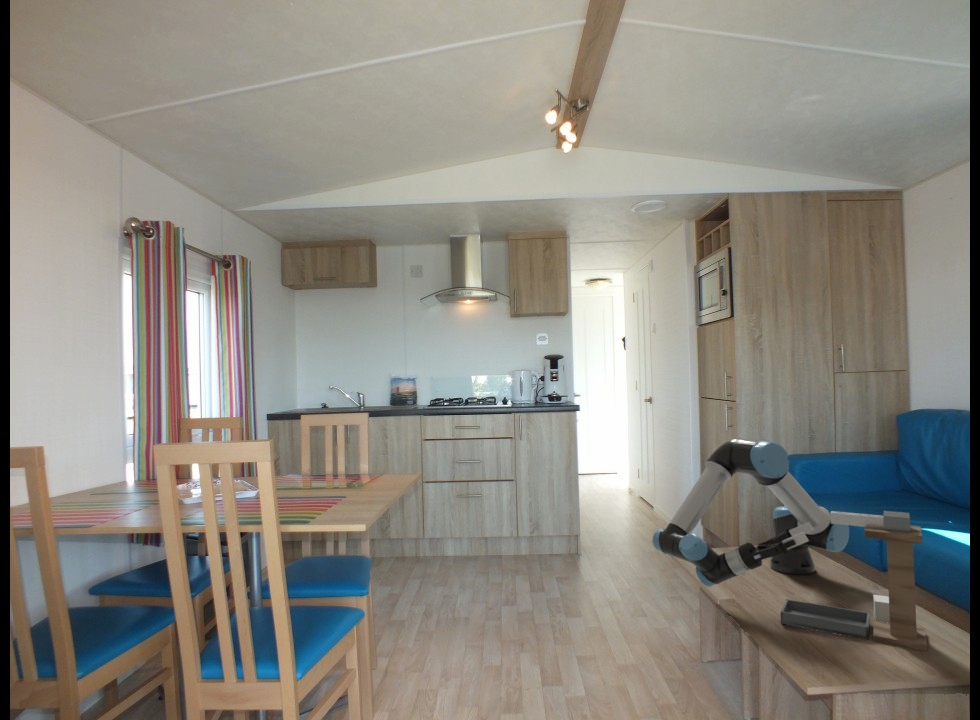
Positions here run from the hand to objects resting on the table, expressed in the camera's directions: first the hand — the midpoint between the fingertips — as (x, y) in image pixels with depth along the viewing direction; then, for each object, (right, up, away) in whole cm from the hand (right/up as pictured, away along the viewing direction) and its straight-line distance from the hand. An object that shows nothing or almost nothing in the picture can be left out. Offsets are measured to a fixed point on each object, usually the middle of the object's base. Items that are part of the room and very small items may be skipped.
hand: (808, 531), depth 182 cm
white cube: (+23, -27, 0) cm, 35 cm away
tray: (+4, -27, -2) cm, 27 cm away
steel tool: (+13, +4, -8) cm, 16 cm away
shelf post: (+18, -26, -12) cm, 34 cm away
